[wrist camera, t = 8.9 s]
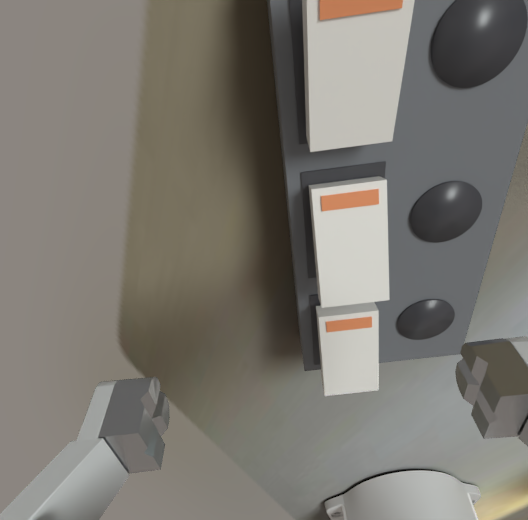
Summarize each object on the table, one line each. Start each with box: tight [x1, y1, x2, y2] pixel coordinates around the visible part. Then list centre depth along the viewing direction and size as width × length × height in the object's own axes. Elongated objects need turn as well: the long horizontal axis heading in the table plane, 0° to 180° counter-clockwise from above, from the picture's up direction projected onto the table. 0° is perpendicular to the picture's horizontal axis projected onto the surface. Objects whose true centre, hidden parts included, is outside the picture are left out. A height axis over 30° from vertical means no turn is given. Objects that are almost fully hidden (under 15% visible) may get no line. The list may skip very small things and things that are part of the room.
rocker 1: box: [302, 0, 415, 152], centre depth 14 cm, size 6×3×1 cm, turn 7°
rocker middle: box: [308, 176, 390, 308], centre depth 19 cm, size 6×3×1 cm, turn 7°
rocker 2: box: [316, 302, 379, 396], centre depth 24 cm, size 6×3×1 cm, turn 7°
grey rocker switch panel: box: [267, 0, 528, 371], centre depth 21 cm, size 24×11×4 cm, turn 7°
